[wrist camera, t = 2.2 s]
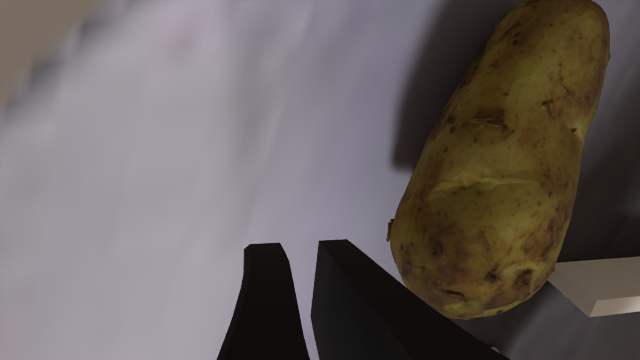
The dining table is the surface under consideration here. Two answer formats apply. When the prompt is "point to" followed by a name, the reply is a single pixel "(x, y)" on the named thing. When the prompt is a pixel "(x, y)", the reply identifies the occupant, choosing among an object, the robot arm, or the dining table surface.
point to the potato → (504, 163)
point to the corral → (600, 285)
